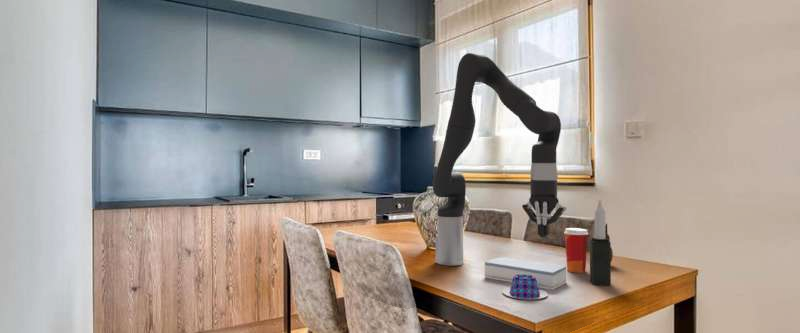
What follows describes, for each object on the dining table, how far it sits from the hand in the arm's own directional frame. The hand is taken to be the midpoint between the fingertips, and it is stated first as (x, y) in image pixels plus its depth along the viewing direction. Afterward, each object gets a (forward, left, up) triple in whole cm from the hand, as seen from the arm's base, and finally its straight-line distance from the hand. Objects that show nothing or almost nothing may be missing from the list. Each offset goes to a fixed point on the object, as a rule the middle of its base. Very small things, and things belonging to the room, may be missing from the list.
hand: (543, 237), depth 131 cm
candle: (+12, +13, -14) cm, 23 cm away
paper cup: (+1, +24, -14) cm, 28 cm away
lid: (-7, +2, -10) cm, 12 cm away
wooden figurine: (+5, +39, -14) cm, 42 cm away
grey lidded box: (-7, +2, -14) cm, 16 cm away
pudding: (0, -12, -15) cm, 19 cm away
